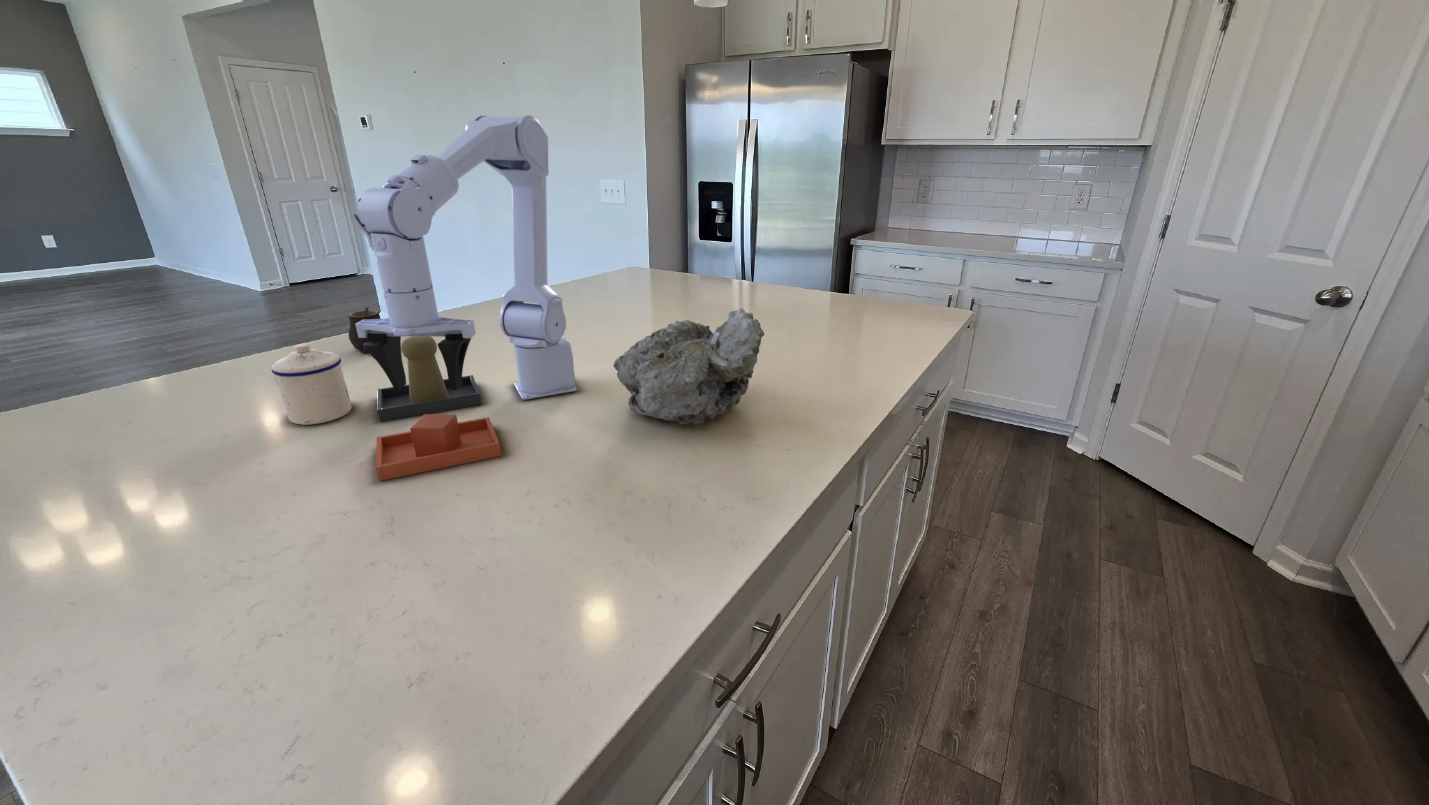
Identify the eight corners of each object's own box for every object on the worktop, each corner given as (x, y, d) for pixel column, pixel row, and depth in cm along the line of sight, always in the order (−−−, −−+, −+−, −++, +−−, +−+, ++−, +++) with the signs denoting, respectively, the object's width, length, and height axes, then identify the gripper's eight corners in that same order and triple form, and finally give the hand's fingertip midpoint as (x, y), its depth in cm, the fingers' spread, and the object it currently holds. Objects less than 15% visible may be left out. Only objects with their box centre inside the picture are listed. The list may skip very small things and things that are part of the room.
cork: (434, 408, 95) (421, 344, 91) (401, 404, 97) (387, 341, 92) (456, 394, 101) (445, 333, 96) (425, 391, 102) (413, 330, 98)
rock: (670, 301, 106) (762, 273, 86) (716, 379, 112) (812, 369, 92) (572, 375, 94) (652, 362, 74) (628, 458, 100) (717, 466, 80)
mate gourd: (381, 342, 129) (370, 297, 125) (399, 348, 125) (389, 302, 121) (346, 350, 123) (334, 304, 119) (364, 357, 119) (352, 309, 115)
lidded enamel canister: (366, 406, 97) (349, 339, 92) (318, 429, 89) (296, 357, 84) (311, 397, 100) (292, 332, 96) (259, 419, 92) (235, 349, 88)
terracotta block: (416, 457, 80) (409, 428, 79) (430, 442, 85) (424, 414, 83) (449, 457, 80) (443, 428, 79) (461, 442, 85) (456, 414, 83)
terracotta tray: (491, 428, 90) (489, 416, 89) (501, 455, 82) (499, 443, 81) (379, 449, 83) (376, 437, 83) (379, 481, 76) (375, 467, 75)
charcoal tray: (474, 385, 106) (472, 374, 105) (481, 404, 98) (480, 393, 98) (380, 399, 100) (377, 388, 99) (379, 421, 92) (377, 410, 91)
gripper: (332, 295, 70) (359, 398, 76) (452, 295, 71) (471, 398, 76) (363, 282, 77) (386, 378, 82) (474, 283, 77) (489, 379, 83)
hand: (428, 387), depth 80 cm, fingers open, 7 cm apart
